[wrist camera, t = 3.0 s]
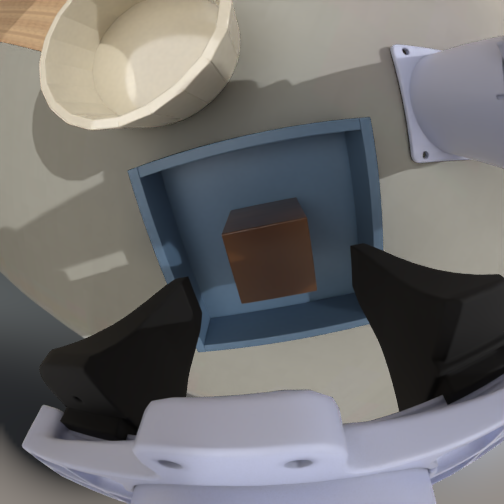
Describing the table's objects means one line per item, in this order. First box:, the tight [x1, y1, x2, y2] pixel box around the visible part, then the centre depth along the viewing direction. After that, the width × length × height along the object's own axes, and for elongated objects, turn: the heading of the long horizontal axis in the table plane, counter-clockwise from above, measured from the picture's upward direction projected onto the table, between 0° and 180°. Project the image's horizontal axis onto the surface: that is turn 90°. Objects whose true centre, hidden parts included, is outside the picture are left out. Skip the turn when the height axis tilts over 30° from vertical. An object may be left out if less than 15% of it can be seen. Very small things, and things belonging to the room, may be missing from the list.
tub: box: [128, 117, 383, 352], centre depth 15 cm, size 12×12×3 cm
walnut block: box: [221, 197, 317, 304], centre depth 15 cm, size 4×4×4 cm
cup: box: [39, 0, 240, 130], centre depth 10 cm, size 10×10×6 cm
